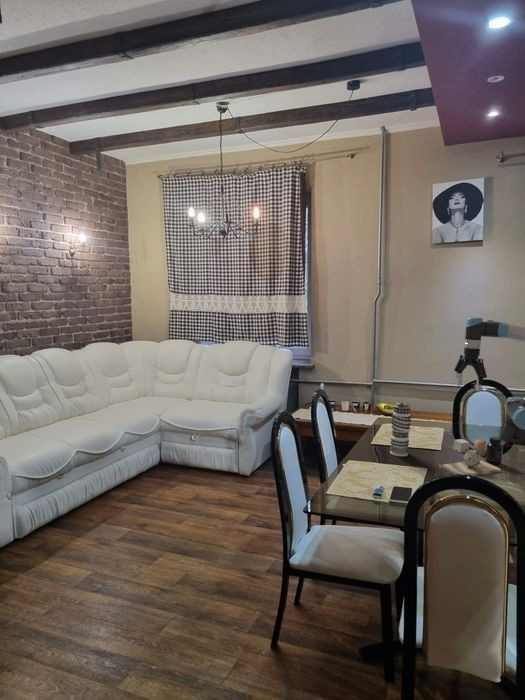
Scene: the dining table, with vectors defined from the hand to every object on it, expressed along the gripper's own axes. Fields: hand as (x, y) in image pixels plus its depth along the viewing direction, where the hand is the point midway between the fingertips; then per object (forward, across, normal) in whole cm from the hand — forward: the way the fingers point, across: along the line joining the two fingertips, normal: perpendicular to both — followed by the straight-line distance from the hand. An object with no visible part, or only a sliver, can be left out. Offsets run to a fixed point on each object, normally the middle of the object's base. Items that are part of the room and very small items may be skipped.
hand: (468, 388), depth 255 cm
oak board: (+29, +33, -26) cm, 51 cm away
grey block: (+29, +11, -12) cm, 33 cm away
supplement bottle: (+29, +30, -10) cm, 43 cm away
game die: (+28, +33, -26) cm, 50 cm away
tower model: (+29, +6, -45) cm, 54 cm away
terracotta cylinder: (+29, +19, -8) cm, 35 cm away
